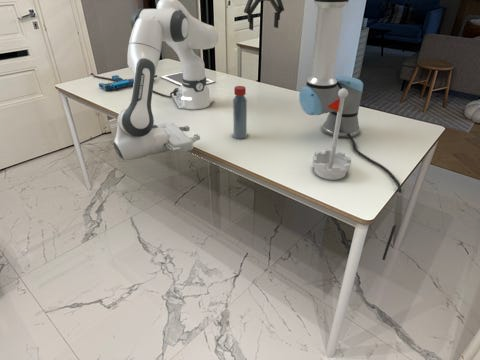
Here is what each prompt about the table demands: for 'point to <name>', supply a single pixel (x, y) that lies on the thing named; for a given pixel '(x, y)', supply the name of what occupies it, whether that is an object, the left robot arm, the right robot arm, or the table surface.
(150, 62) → the left robot arm
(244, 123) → the bottle
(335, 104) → the flag stand
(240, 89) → the cap
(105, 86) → the submachine gun
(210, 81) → the tablet
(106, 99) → the table surface
